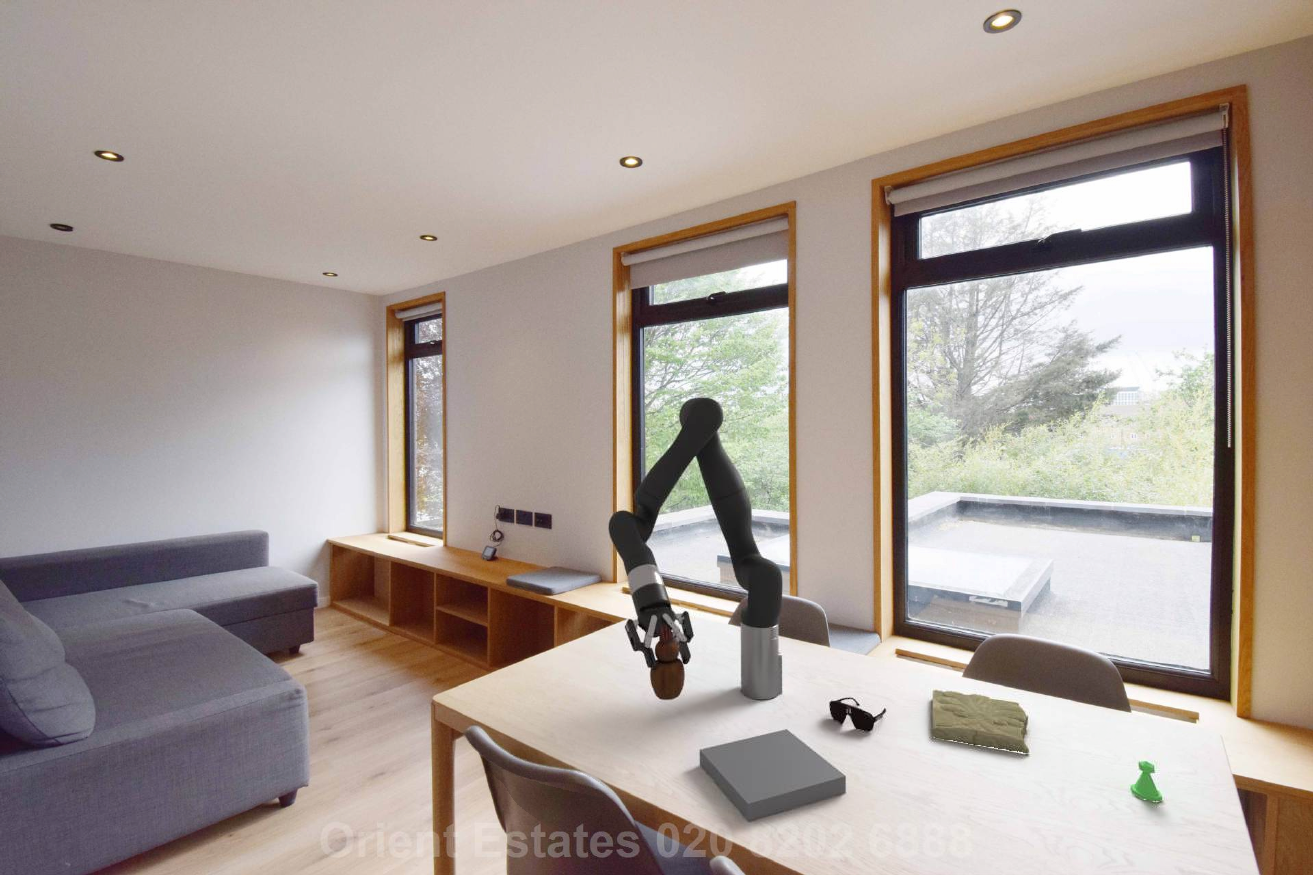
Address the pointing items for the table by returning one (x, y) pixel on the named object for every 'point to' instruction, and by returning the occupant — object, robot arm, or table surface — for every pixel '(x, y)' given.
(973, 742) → the decorative tile
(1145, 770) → the game piece
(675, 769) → the table surface
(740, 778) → the block
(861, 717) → the sunglasses
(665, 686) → the wooden figurine
